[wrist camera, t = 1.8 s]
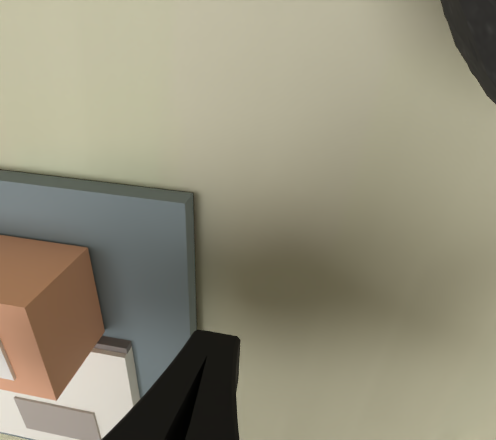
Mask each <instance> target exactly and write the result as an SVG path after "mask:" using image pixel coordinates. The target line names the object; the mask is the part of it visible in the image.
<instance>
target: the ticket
mask: <svg viewBox="0 0 496 440" xmlns="http://www.w3.org/2000/svg"><path fill="white" fill-rule="evenodd" d="M139 400H140V395H139V389H138V383H137V376H136V370H135V363H134V357H133V351H132V344H131V341H129V340H123V339H117V338H112V337H106V336H102V337H101V338H100V339H99V341H98V342H97V344H96V345H95V347H94V348H93V349H92V351H91V352H90V354H89V355H88V357H87V358H86V359H85V361H84V362H83V364H82V365H81V367H80V368H79V369H78V371H77V372H76V374H75V375H74V377H73V378H72V379H71V381H70V382H69V384H68V385H67V387H66V388H65V389H64V391H63V392H62V394H61V395H60V397H59V398H58V399H57V401H55V400H50V399H45V398H40V397H36V396H31V395H26V394H21V393H16V392H11V391H6V390H1V389H0V432H3V433H8V434H12V435H17V436H21V437H26V438H30V439H35V440H101V439H102V438H103V437H104V436H105V435H106V434H107V433H108V432H109V431H110V430H111V429H112V428H113V427H114V426H115V425H116V424H117V423H118V422H119V421H120V420H121V419H122V418H123V417H124V416H125V415H126V414H127V413H128V412H129V411H130V410H131V409H132V407H133V406H134V405H135V404H136V403H137V402H138V401H139Z"/></svg>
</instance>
